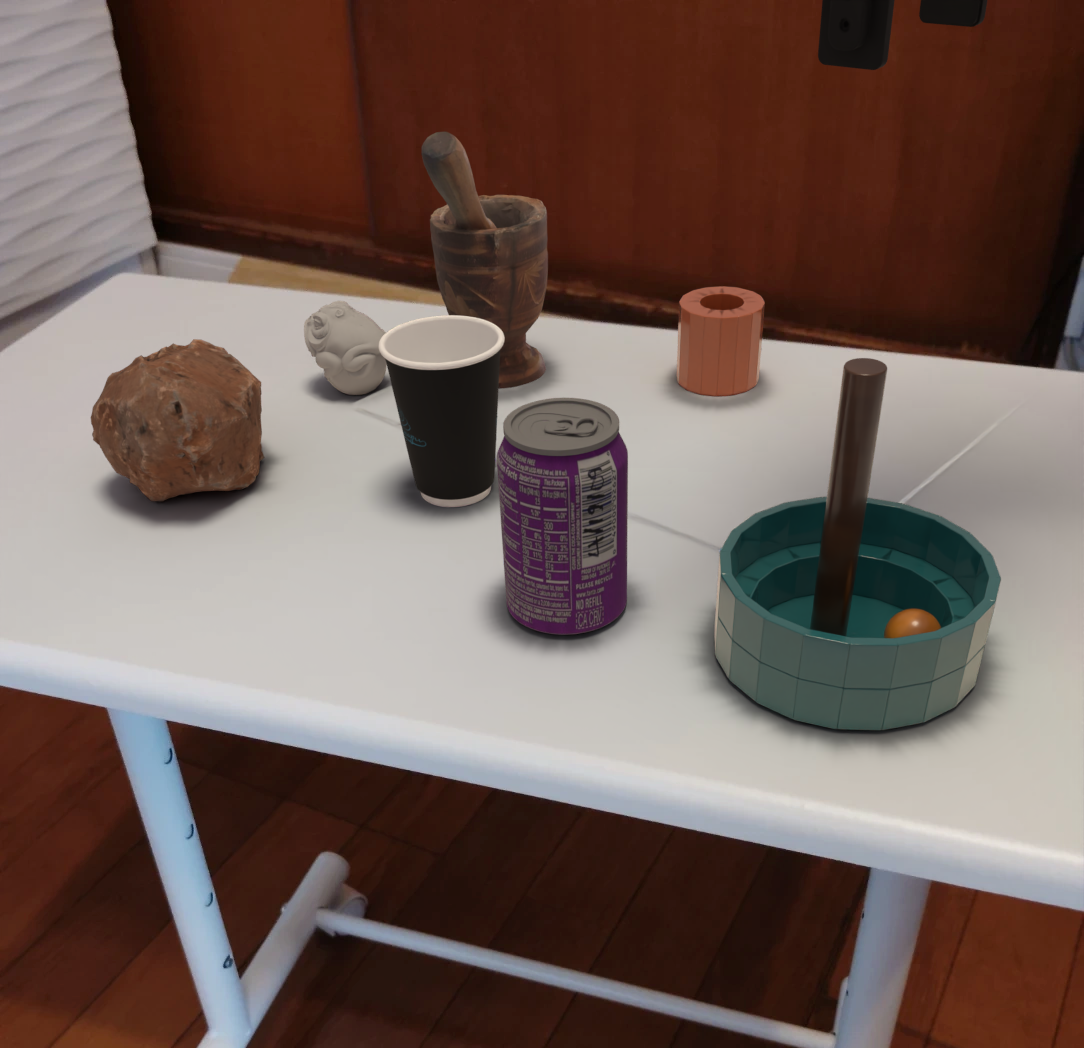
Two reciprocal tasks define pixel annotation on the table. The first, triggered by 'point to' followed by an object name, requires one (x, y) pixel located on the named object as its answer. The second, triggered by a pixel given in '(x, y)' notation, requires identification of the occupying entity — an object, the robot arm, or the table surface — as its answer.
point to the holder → (719, 340)
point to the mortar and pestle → (489, 256)
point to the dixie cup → (447, 403)
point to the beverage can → (564, 515)
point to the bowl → (854, 616)
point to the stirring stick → (847, 492)
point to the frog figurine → (346, 347)
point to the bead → (911, 623)
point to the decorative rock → (182, 421)
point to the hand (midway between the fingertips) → (903, 43)
